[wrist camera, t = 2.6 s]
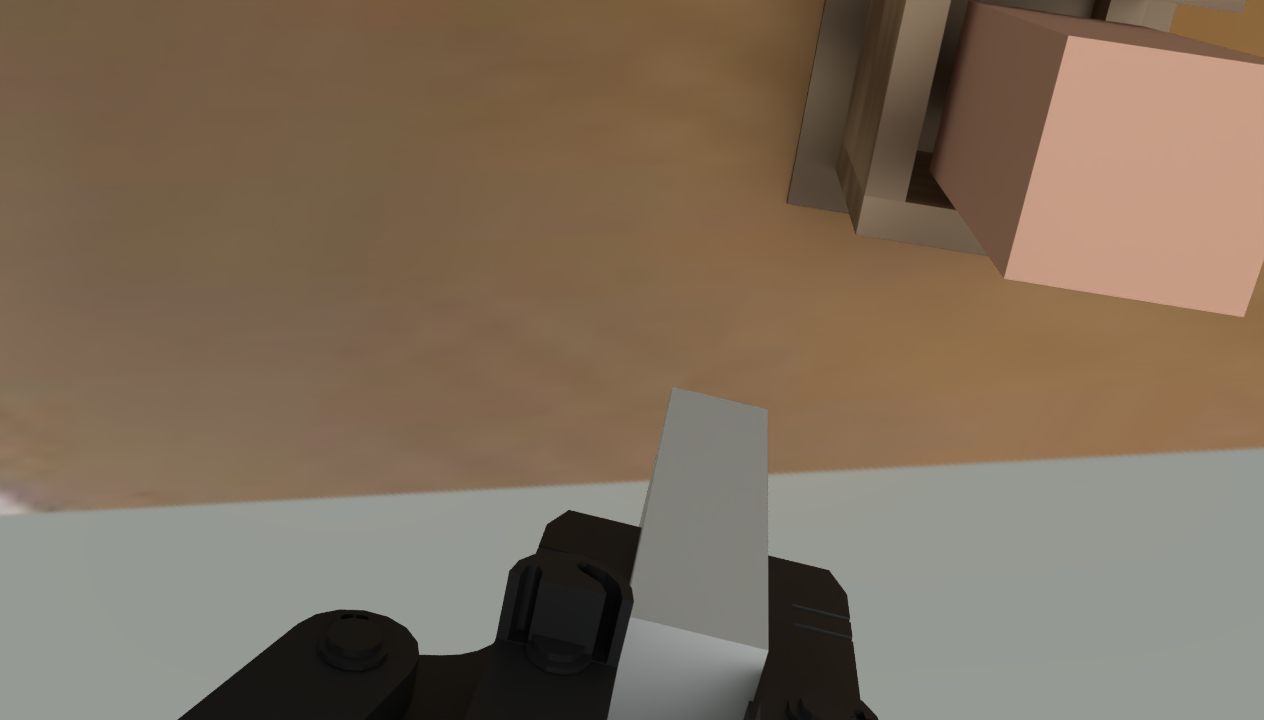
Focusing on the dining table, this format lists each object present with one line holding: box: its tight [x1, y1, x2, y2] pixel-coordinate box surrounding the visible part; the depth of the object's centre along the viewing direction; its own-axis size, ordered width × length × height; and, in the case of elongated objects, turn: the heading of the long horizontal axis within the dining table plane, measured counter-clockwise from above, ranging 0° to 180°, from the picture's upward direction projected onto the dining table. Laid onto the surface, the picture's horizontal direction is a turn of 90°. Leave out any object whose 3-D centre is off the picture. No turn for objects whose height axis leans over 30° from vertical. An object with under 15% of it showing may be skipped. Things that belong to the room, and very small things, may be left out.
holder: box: [787, 0, 1246, 256], centre depth 38 cm, size 12×12×10 cm
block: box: [929, 0, 1264, 317], centre depth 29 cm, size 5×5×12 cm
